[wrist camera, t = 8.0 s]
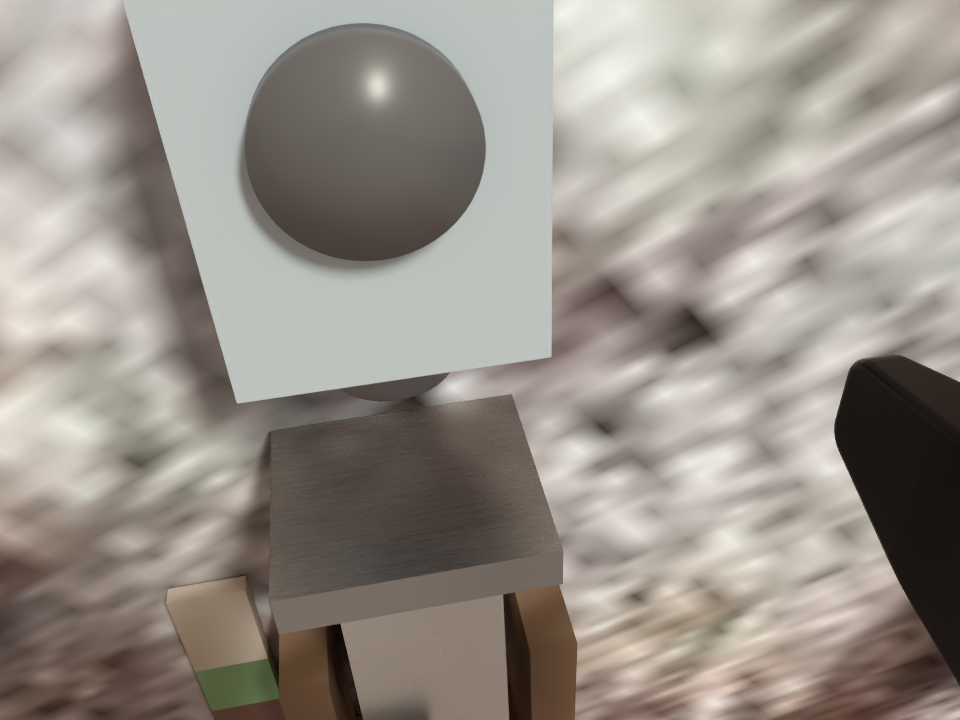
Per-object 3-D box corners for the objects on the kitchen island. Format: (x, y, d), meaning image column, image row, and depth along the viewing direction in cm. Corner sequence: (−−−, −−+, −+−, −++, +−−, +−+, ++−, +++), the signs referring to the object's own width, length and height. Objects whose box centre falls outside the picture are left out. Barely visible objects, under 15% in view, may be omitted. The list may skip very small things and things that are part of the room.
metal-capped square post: (511, 394, 21) (563, 550, 17) (519, 635, 26) (558, 792, 23) (190, 443, 20) (169, 619, 16) (271, 681, 26) (269, 852, 22)
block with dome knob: (476, -186, 14) (566, -129, 9) (495, 274, 19) (558, 445, 15) (149, -161, 13) (86, -88, 9) (261, 306, 18) (256, 494, 14)
